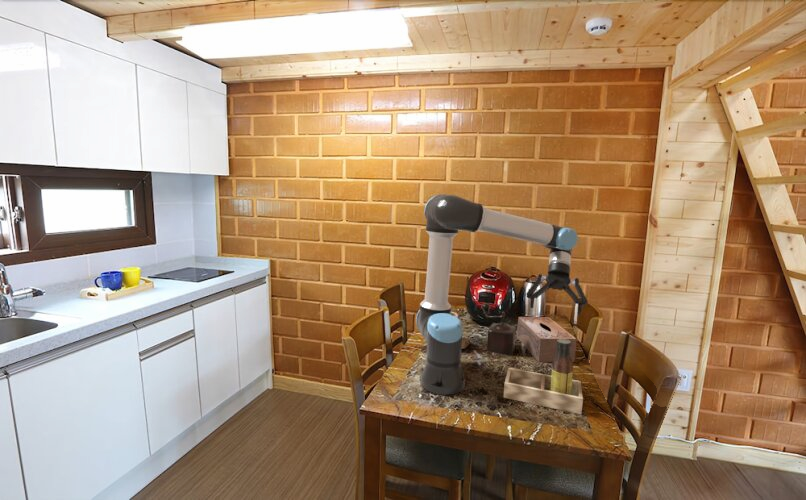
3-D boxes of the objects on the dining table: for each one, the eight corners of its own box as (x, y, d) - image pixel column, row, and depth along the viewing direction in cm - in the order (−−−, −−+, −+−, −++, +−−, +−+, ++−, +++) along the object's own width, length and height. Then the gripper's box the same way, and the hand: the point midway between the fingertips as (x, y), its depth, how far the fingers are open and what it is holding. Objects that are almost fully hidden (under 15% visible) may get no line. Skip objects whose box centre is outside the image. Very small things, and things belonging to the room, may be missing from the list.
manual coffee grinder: (515, 346, 163) (518, 306, 161) (511, 356, 153) (514, 313, 151) (480, 339, 170) (482, 301, 167) (474, 348, 160) (476, 308, 157)
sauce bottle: (565, 394, 124) (570, 336, 121) (574, 404, 118) (580, 344, 115) (546, 393, 124) (551, 336, 121) (554, 404, 118) (559, 344, 115)
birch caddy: (503, 397, 122) (504, 383, 121) (507, 380, 133) (508, 367, 132) (581, 414, 113) (582, 399, 113) (579, 395, 124) (580, 381, 124)
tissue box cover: (516, 337, 174) (518, 316, 173) (547, 337, 175) (549, 317, 173) (538, 362, 149) (540, 338, 147) (574, 362, 149) (576, 338, 148)
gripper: (595, 274, 138) (592, 329, 129) (524, 267, 148) (517, 317, 139) (597, 264, 132) (595, 321, 123) (524, 258, 142) (516, 309, 133)
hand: (553, 319), depth 131 cm, fingers open, 13 cm apart
